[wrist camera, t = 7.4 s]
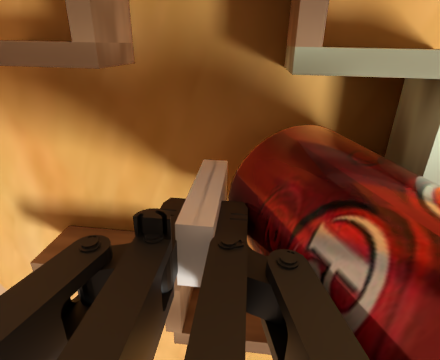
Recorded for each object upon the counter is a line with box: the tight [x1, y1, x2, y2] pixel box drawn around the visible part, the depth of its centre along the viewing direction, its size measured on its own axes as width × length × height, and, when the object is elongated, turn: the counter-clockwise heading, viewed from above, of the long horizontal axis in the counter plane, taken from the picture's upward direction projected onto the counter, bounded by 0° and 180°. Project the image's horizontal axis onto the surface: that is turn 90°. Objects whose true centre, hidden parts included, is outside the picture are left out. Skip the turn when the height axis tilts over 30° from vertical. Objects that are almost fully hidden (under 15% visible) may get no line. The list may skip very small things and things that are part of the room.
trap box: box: [0, 0, 440, 355], centre depth 16 cm, size 22×21×4 cm
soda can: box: [229, 125, 440, 360], centre depth 12 cm, size 7×7×12 cm
